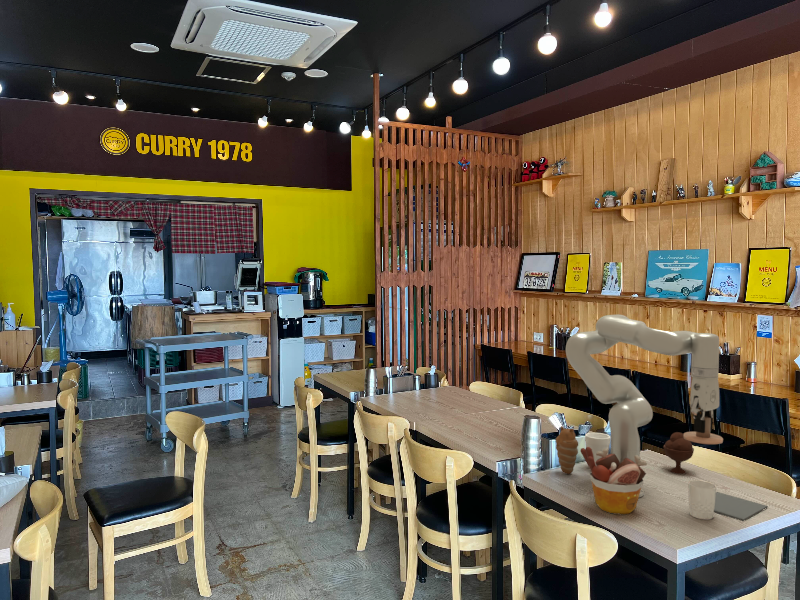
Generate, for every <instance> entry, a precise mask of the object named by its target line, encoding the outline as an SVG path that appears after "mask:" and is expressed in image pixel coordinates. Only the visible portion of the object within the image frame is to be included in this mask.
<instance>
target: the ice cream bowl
mask: <svg viewBox="0 0 800 600" xmlns="http://www.w3.org/2000/svg"><path fill="white" fill-rule="evenodd" d="M692 443H693V442H691V441H688V440H686V439H684V433H682V432H678V431H676V432H673V433H672V434H671V435H670V437H669V439H668V440H666V441H665V444H663V446H662V448H663V451H664V454H665V455H666V456H667V457H668V458H669V459H670V460H673V461H674V462H675V466H674V467H672V468H671V469H670V472H671V473H672V474H676V475H686V470H685V469H683V468H682V465H681V464H682V463H683V462H686V461H688V460H689V459H691V458H692V457H693V455H694V451H695V448H694V447H693V444H692Z"/></svg>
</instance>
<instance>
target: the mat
mask: <svg viewBox="0 0 800 600" xmlns="http://www.w3.org/2000/svg"><path fill="white" fill-rule="evenodd" d="M767 507H768V508H769V505H767V504H766V505H765V504H763V503H758V502H755V501H752V500H748V499H745V498H741V497H737V496H733V495H730V494H726V493H723V492H719V491H716V497H715V508H714V513H715V514H719V515H722V516H725V515H726V517H728V516H729V518H733V519H735V518H736V520H738V519H739V520H738V521H741V520H742V522H745V521H747V520H748V519H750V518H752V517H754V516H755V514H756V513H757V514H759V513H761V512H763V511H764V510H763V509H765V508H766V509H768V508H767ZM766 509H765V510H766ZM762 510H763V511H762ZM760 511H761V512H760ZM758 512H759V513H758ZM757 514H756V515H757ZM753 515H754V516H753ZM751 516H752V517H751ZM749 517H750V518H749ZM746 519H747V520H746ZM744 520H745V521H744Z"/></svg>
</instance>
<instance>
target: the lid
mask: <svg viewBox="0 0 800 600" xmlns="http://www.w3.org/2000/svg"><path fill="white" fill-rule="evenodd" d="M704 420H705V433H700V432H695V431H686V432H684V433H683V434H684V439H686V440H688V441H690V442H691V443H697V444H702V445H719V444H723V442H724V438H723V437H722V436H721V435H718V434H715V433H711V431H710V428H711V418H710V417H707V416H704Z"/></svg>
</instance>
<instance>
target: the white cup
mask: <svg viewBox="0 0 800 600" xmlns="http://www.w3.org/2000/svg"><path fill="white" fill-rule="evenodd" d="M687 489H688V492H687V493H688V496H687V499H688V506H689V507H688V508H689V509H688V510H689V515H690V516H691V517H693V518H696V519H700V520H706V521H707V520H712V519H713V518H714V516H715V515H714V513H715V512H714V508H715V497H716V492H717V485H716V484H715V483H713V482H710V481H706V480H700V479H692V480H689V481H688V482H687Z"/></svg>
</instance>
